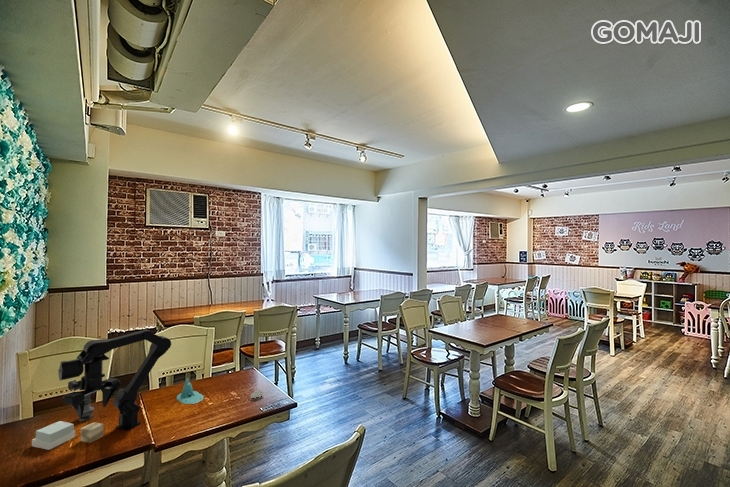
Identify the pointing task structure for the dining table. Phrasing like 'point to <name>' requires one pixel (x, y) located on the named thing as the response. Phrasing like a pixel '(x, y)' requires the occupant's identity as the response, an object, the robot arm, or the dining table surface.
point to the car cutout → (257, 394)
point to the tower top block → (54, 431)
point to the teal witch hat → (189, 394)
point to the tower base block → (52, 444)
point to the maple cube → (91, 432)
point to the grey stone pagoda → (87, 409)
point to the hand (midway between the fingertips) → (92, 411)
